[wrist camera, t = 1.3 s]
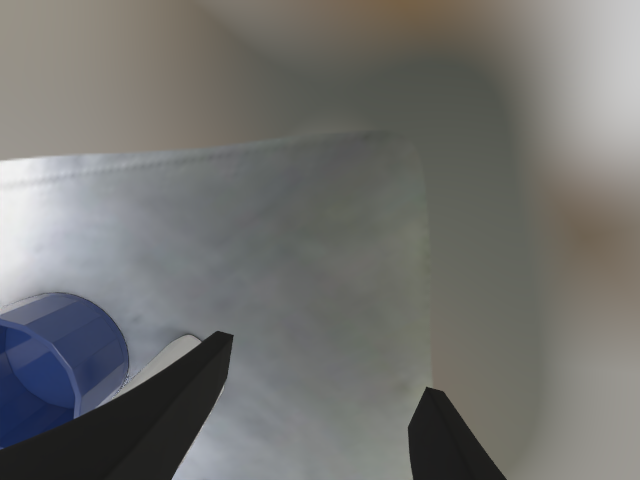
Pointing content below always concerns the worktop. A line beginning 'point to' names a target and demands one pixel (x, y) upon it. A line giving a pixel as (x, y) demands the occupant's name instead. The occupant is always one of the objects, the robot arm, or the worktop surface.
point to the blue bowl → (55, 363)
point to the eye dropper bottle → (165, 365)
